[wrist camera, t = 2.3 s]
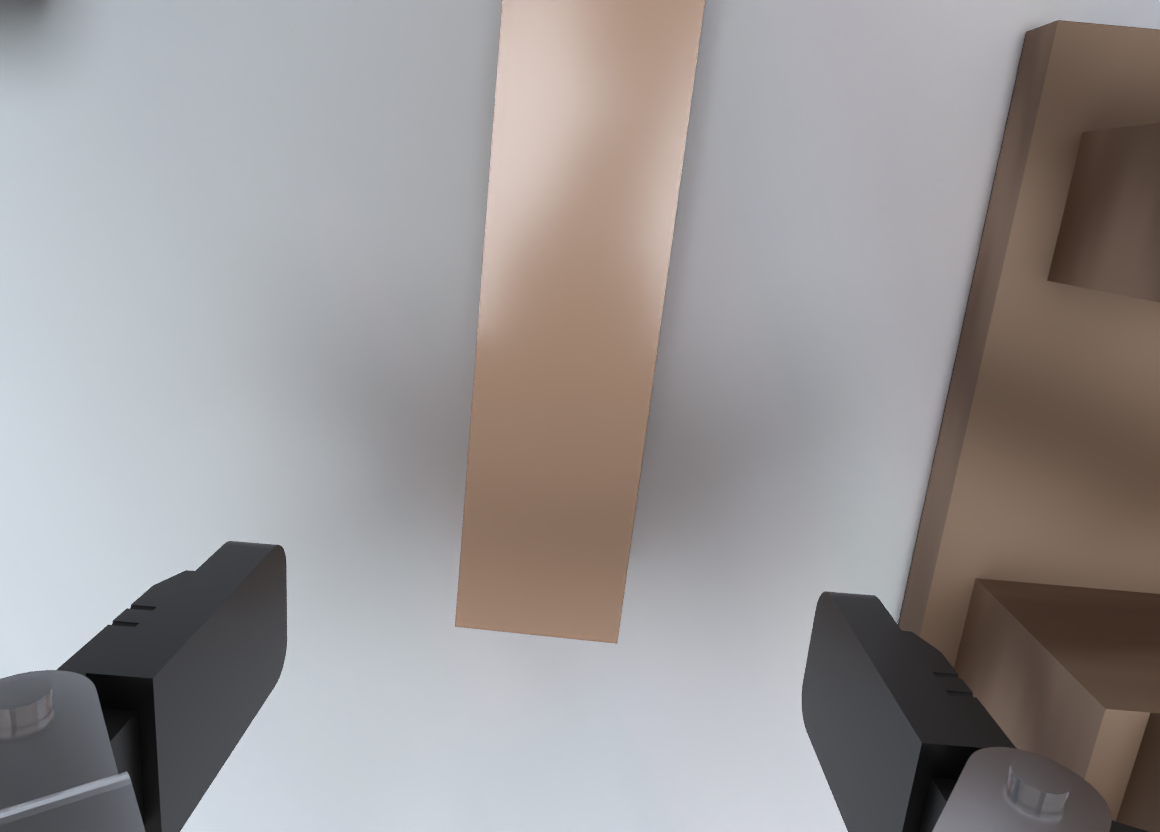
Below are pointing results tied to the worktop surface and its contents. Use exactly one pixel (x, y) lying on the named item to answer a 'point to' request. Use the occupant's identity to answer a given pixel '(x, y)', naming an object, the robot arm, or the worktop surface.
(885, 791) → the robot arm
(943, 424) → the pegged brown baseplate
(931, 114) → the worktop surface
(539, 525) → the clay strip
